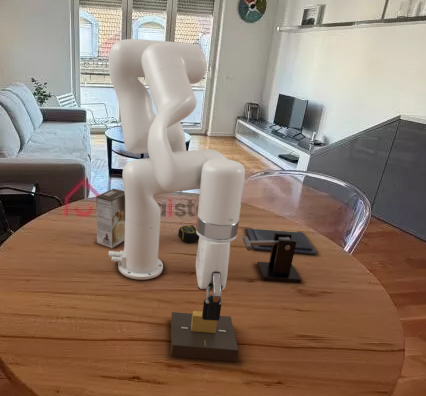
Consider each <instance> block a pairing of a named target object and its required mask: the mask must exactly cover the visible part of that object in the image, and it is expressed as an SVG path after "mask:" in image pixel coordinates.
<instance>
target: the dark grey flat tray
mask: <svg viewBox="0 0 426 396" xmlns="http://www.w3.org/2000/svg"><path fill="white" fill-rule="evenodd" d="M245 230H246V234H247V237H248V239H249V241H265V240H274V234H275V232H279V233H291V234H292V237H291V240H296V247H295V251H294V255H295V254H297V255H306V256H307V255H308V256H310V255H311V256H316V254H317V251H316V248H314V246H313V245H312V243H311V242H310V241H309V239H308V238H307V236H306V235H305V234H304V232H303V231H293V230H282V229H281V230H280V229H268V228H255V227H254V228H252V227H251V228H250V227H246V229H245ZM252 250H253V251H260V252H270V253H271V250H272V245H256V246H252Z"/></svg>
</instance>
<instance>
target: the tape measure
mask: <svg viewBox="0 0 426 396" xmlns="http://www.w3.org/2000/svg"><path fill="white" fill-rule="evenodd" d="M177 235H178V238H179V239H180V240H182V241H183V242H186V243H194V242H199V236H198V235H197V233H196V226H194V225H182V226H180V227H179V229H178V232H177Z"/></svg>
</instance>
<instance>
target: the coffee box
mask: <svg viewBox="0 0 426 396" xmlns="http://www.w3.org/2000/svg"><path fill="white" fill-rule="evenodd" d="M95 197H96V199H95V200H96V243H97V244H99V245H102V246H105V247H107V248H111V249H114V247H117V246H118V245H120V244H121V243H123V242H125V192H124V190H121V189H118V188H112V189H110V190H107V191H105V192H103V193H101V194H98V195H96V196H95Z"/></svg>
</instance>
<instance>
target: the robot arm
mask: <svg viewBox="0 0 426 396" xmlns="http://www.w3.org/2000/svg"><path fill="white" fill-rule="evenodd" d="M207 63H208V62H207V57H206V55H205V53H204V51H203V49H202V48H201V47H199V46H198V45H197V44H193V43H183V42H176V41H168V40H167V41H166V40H155V39H154V40H153V39H152V40H151V39H141V38H126V39H120V40H118V41H116V42H115V43H113V45H112V46H111V47H110V50H109V52H108V72H109V77H110V82H111V84H112V86H113V89H114V92H115V95H116V98H117V100H118V107H119V113H120V123H121V131H122V137H123V143H124V147H125V149H126V150H127V151H128V152H129V153H131V154H138V155H139V154H148V157H146V158H145V157H144V158H138V159H134V160H131V161H129V162H128V163H126V164H125V165H124V167H123V168H122V175H121V176H122V185H123V191H124V192H125V240H124V241H123V242H124V246H123V250H120V251H115V250H108V254H107V257H108V258H109V259H111V262H113V263H117V265H118V266H117V268H118V271H119V272H120V273H121V275H123V276H125V277H126V278H129V279H132V280H138V281H139V280H140V281H143V280H151V279H154V278H156V277H158V276H160V275H161V274H162V272H163V269H164V264H163V262H162V260H161V259H160V258H159V248H160V235H161V234H160V233H161V220H162V219H161V217H162V211H161V208H160V207H161V206H160V205H159V203H158V202H156V200H155V199H154V197H155V196H157V195H163V194H164V195H165V194H171V193H177V192H178V193H179V192H186V191H194V190H199V194H198V195H199V196H198V204H197V205H198V206H197V217H196V226H195V228H196V233H197V235H198V236H199V240H198V244H197V251H196V258H195V273H196V282H197V288H198V291H199V290H200V291H205V299H204V300H203V306H202V312H203V313H202V319H203V320H215V321H218V320H219V319H220V316H221V310H222V291H224V290H225V288H226V285H227V279H228V271H229V264H230V263H229V262H230V254H231V242H233V241H234V240H236V239H237V236H238V229H239V222H240V215H241V207H242V202H243V201H242V200H243V193H244V186H245V181H246V180H245V179H246V168H245V166H244V165H243V164H242V163H241V162H239V161H236V160H233V159H228V157H226V156H225V155H224V154H223V153H222V152H220V151H218V150H217V149H216V150H215V149H199V150H196V149H194V150H187V145H186V137H185V131H184V127H183V125H182V123H181V121H184V119H186V118H188V117H189V116H190V115H191V114H192V113H193V112H194V111H195V109H196V107H197V97H196V95H195V93H194V90H193V87H192V85H193V84H195V85H196V84H198V83H200V82H201V81H202V80H203V79H204V77H205V75H206V73H207V68H208V64H207ZM139 78H145V80H146V84H147V87H148V89H149V90H148V89H147V87H146V86H145V85H144V84H143V82H141V80H139ZM153 105H154V106H153ZM154 107H155V110H154ZM154 111H156V114H155V112H154ZM210 291H212V294H210Z"/></svg>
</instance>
